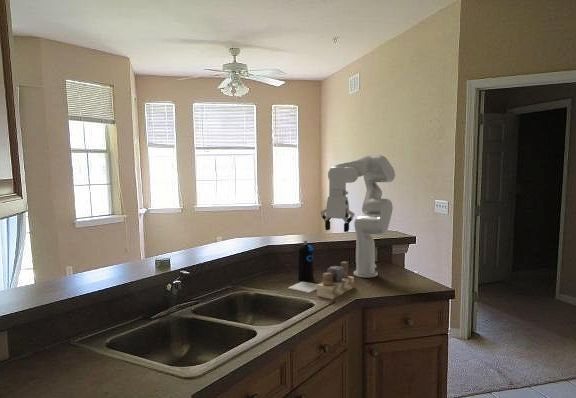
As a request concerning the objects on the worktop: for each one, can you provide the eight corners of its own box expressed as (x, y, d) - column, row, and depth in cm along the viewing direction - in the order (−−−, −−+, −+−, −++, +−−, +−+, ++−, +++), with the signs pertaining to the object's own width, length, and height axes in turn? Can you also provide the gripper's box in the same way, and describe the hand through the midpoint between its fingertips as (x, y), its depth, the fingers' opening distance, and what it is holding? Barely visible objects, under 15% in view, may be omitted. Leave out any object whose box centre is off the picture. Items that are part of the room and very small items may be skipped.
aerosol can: (295, 280, 194) (294, 241, 192) (301, 276, 201) (300, 238, 200) (310, 281, 191) (310, 242, 189) (315, 277, 198) (315, 239, 197)
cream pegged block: (339, 284, 185) (338, 260, 185) (353, 287, 181) (353, 262, 180) (316, 295, 170) (316, 269, 169) (332, 299, 165) (332, 272, 164)
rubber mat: (302, 282, 190) (302, 281, 190) (322, 286, 183) (322, 285, 183) (288, 288, 181) (288, 287, 181) (308, 293, 173) (308, 292, 173)
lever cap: (335, 276, 179) (334, 264, 178) (344, 277, 176) (344, 265, 175) (327, 279, 173) (327, 267, 173) (336, 281, 170) (336, 268, 170)
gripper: (358, 194, 172) (357, 231, 172) (325, 193, 182) (325, 228, 183) (350, 194, 166) (349, 233, 166) (317, 193, 176) (316, 230, 177)
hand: (336, 230), depth 175 cm, fingers open, 9 cm apart
